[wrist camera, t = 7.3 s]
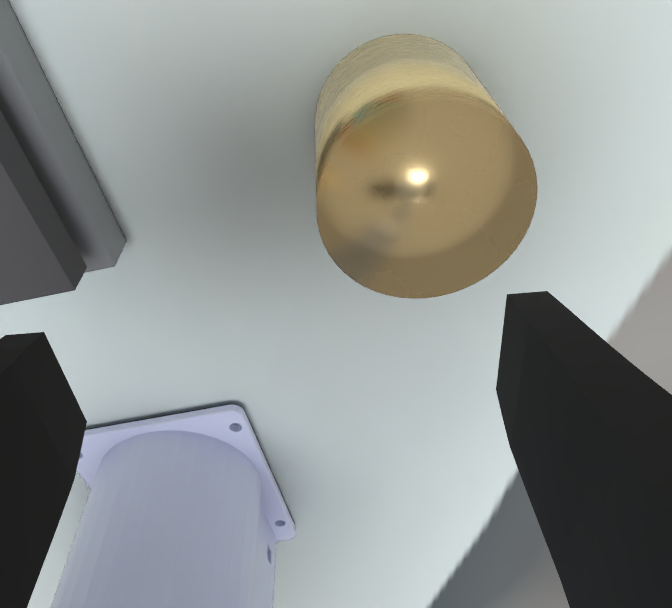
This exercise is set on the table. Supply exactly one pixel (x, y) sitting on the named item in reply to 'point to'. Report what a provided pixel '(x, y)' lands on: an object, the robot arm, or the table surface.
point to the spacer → (417, 170)
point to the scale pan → (31, 232)
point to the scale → (54, 148)
